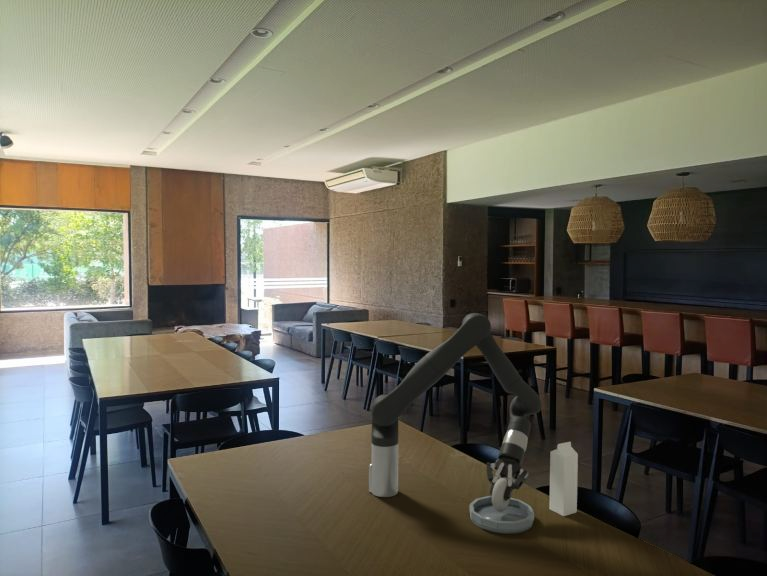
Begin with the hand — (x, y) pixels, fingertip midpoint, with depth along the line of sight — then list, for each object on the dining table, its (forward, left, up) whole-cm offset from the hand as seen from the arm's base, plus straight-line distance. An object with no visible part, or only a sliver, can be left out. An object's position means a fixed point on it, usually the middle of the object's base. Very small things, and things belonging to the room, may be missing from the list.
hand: (499, 497), depth 170 cm
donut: (0, +2, -5) cm, 5 cm away
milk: (+14, +18, -7) cm, 25 cm away
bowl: (0, +2, -7) cm, 8 cm away
